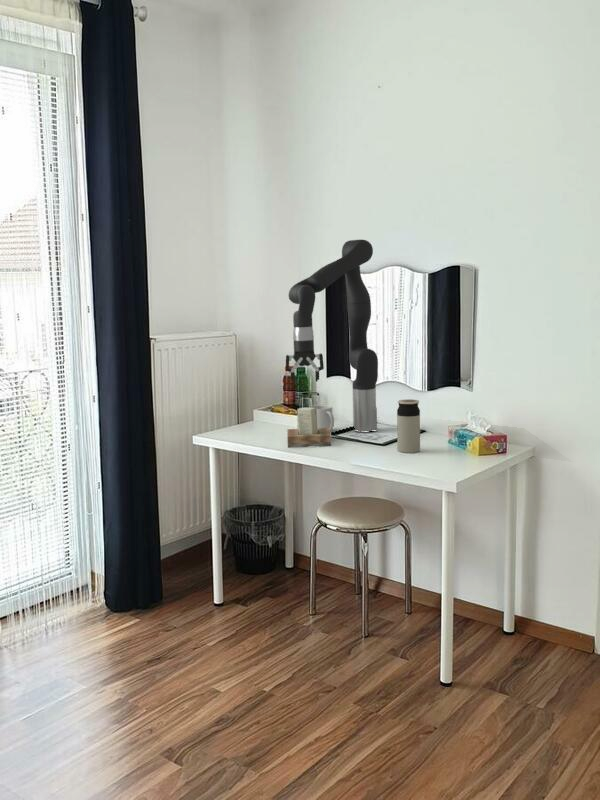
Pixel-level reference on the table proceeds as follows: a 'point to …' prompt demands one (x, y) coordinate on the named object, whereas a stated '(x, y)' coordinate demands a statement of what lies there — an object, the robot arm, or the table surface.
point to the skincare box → (307, 421)
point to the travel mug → (408, 426)
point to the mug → (324, 417)
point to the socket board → (309, 438)
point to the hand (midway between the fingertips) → (305, 381)
